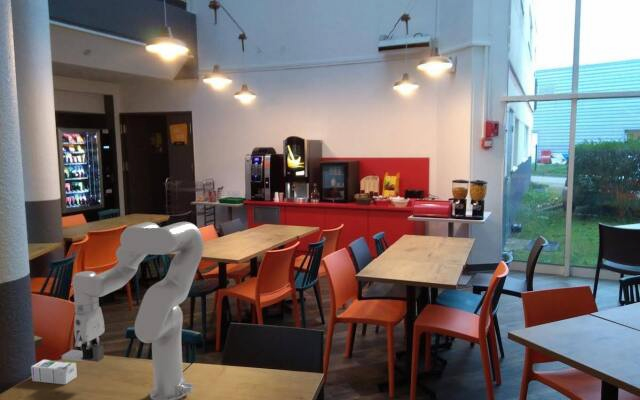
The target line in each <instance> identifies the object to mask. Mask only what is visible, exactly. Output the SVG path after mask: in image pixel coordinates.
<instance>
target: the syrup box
mask: <svg viewBox="0 0 640 400" xmlns="http://www.w3.org/2000/svg"><path fill="white" fill-rule="evenodd" d="M30 373H31V381H32V382H37V383H48V384H57V385H68V384H69V383H70V382H72V381H73V380H75V379H76V378H77V376H78V375H77V374H78V372H77V363H76V362H72V361H63V360H53V359H52V360H51V359H42V360H40V361H39V362H36V363H35V364H33V365H31V366H30Z"/></svg>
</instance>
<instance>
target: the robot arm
mask: <svg viewBox="0 0 640 400" xmlns="http://www.w3.org/2000/svg"><path fill="white" fill-rule="evenodd" d="M119 239H120V240H119V242H120V245H119V247H118V248H117V250H116V253H115V256H116V259H117V260H118V262H117V263H116V264H115V266H113V267H112V268H110V269H108V270H106V271H103V272H101V273H98V274H97V273H96V272H95V271H92V270H91V271H90V270H84V271H80V272H77V273H75V274H73V277H72V288H73V299H74V312H75V314H74V321H73V322H74V324H73V325H74V327H73V328H74V330H73V331H74V339H75V342H74V347H78V348H80V349H81V351H82V352H83V359H87V360H91V359H92V353H91V348H90V343H92V344H100V340H101V339H100V338H101V336H102V335H103V334H104V333H105V321H104V315H103V312H102V311H103V310H102V307H101V306H100V302H99V300H100V299H99V298H101V297H104V296H106V295H108V294H110V293H113V292H115V291H117V290H120V289H121V288H123V287H124V286H125V285H126V284H128V283H129V281H130V280H131V279H133V277H134V276H135V275H136V273H137V271H138V269H139V265H140V263H142V262H143V260H144V259H145V258H146V257H147V256H148V255H154V256H155V255H156V256H157V255H158V256H159V255H169V254H172V253H175V252H176V254H175V255H174V257H173V258H172V260H171V262H170V264H169V268H168V270H167V273H166V276H165V277H164V278H163V279H162V280H160V281H158V282H156V283H155V284H153V285H151V286H150V287H149V288H148V289H147V290H146V292H145V293H144V295H143V298H142V300H141V303H140V305H139V308H138V309H139V310H138V311H137V315H136V317H135V320H134V321H135V322H134V334H135V336H136V339H138V340H139V341H140V342H142V343H146V344H151V351H152V352H151V357H152V372H153V373H152V375H153V388H152V389H151V390H150V392H149V398H150V400H181V399H182V398H184V397H185V396H186V395H187V394H188V393H189V394H192V393H193V392H194V383H191V382H190V383H188V382H187V378H186V377H184V369H183V367H184V366H183V351H182V350H183V349H182V332H183V331H182V329H183V323H184V322H183V320H184V316H183V314H184V313H183V310H182V308H181V307H180V306H179V305H180V304H182V303H183V302H184V301H185V300H186V299H187V297H188V295H189V292H190V291H191V287H192V284H193V282H194V278H195V276H196V272H197V271H198V268H199V265H200V263H201V260H202V257H203V254H204V248H205V247H204V246H205V244H204V243H205V242H204V241H205V240H204V237H203V234H202V233H201V230H200V229H199V228H198V227H197V225H195V224H194V223H192V222H189V221H180V222H176V223H172V224H169V225H164V226H162V227H161V226H159V224H157V223H155V222H152V221H145V222H142V223H137V224H134V225H130V226H128V227H127V228H125V229H124V230H123V232H121V235H120V238H119ZM87 360H86V361H87Z"/></svg>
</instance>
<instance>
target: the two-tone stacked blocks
mask: <svg viewBox="0 0 640 400" xmlns="http://www.w3.org/2000/svg"><path fill="white" fill-rule="evenodd" d="M90 348H91V353H92V359H91V360H87V359H83V352H82V350H78V349H71V350H69V351H67V352H65V353H63V354H62V355H61V359H63V360H67V361H68V360H70V361H76V362H77V361H78V362H83V361H86V362H88V361H89V362H97V363H98V362H101V361H102V360H104V358H105V357H104V354H105V353H104V344H101V343H98V344H92V343H91V342H90Z"/></svg>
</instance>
